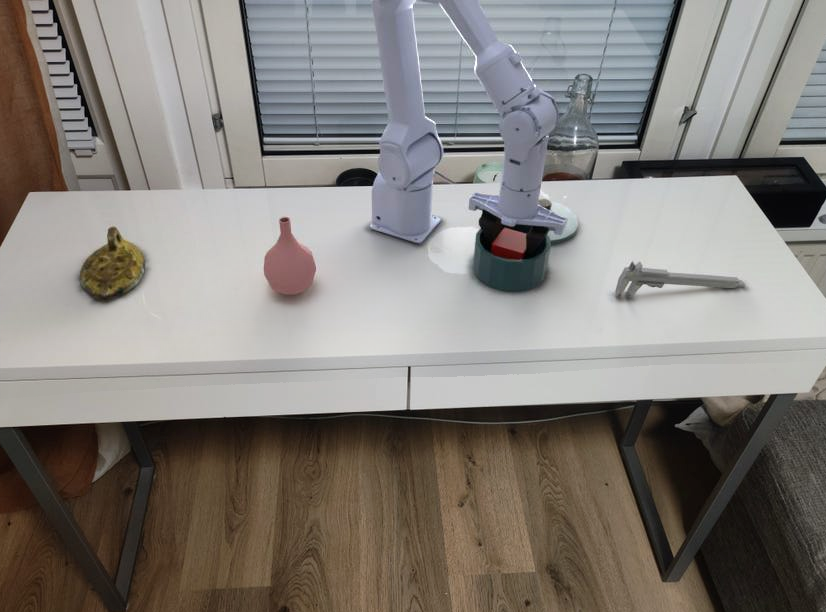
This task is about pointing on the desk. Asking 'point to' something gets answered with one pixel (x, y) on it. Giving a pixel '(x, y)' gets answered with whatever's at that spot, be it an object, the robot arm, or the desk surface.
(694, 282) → the caliper
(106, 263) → the seal
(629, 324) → the desk surface
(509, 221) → the robot arm
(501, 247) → the red block
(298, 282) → the pink vase
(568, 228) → the lid
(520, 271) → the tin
